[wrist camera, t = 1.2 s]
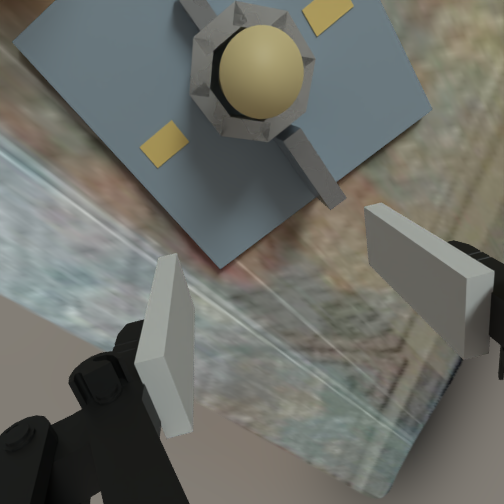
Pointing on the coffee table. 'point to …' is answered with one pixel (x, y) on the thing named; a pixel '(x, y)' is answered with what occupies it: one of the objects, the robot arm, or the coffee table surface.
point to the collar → (238, 126)
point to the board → (227, 102)
